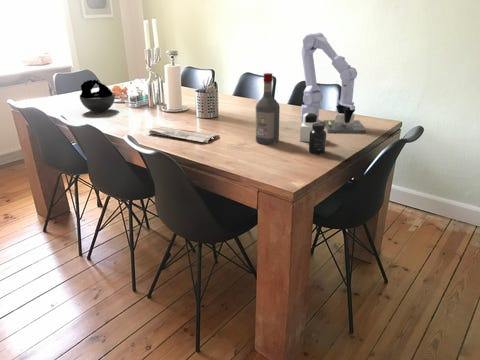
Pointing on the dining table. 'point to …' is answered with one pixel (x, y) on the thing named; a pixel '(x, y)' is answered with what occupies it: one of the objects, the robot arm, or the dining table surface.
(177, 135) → the newspaper
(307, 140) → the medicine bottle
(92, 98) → the coal bowl
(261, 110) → the liquor
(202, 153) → the dining table surface
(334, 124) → the base
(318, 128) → the supplement bottle
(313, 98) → the robot arm
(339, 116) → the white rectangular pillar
